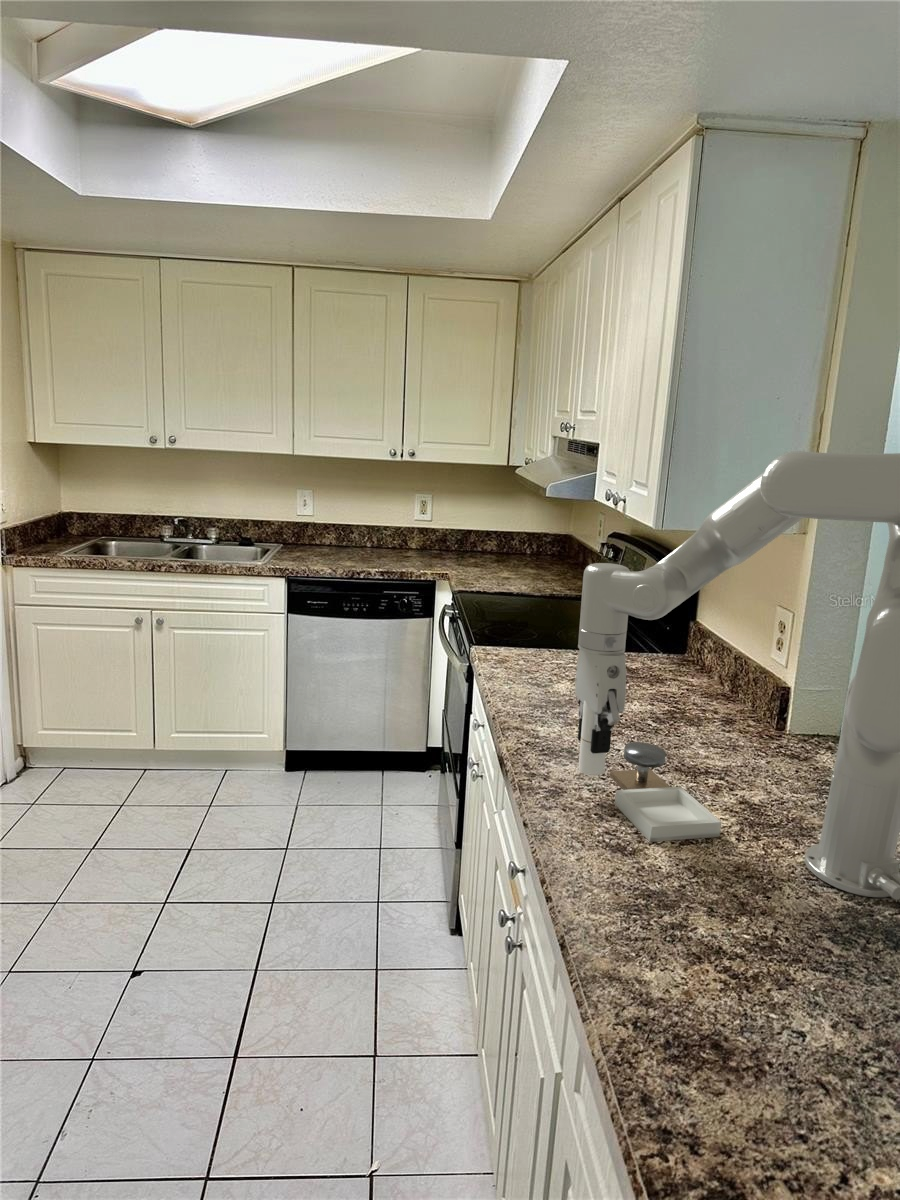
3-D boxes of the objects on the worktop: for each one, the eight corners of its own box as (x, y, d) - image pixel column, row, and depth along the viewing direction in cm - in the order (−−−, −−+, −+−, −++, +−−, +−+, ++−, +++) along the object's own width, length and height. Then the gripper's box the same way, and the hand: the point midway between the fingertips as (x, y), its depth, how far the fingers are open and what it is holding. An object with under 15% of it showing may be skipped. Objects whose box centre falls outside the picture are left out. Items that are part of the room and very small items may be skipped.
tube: (585, 776, 127) (592, 689, 124) (574, 765, 131) (580, 680, 128) (608, 774, 128) (616, 687, 125) (597, 763, 132) (604, 679, 129)
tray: (719, 836, 120) (721, 822, 119) (649, 841, 117) (651, 826, 116) (678, 800, 131) (680, 786, 131) (614, 804, 128) (616, 790, 128)
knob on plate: (672, 794, 133) (677, 759, 132) (630, 797, 131) (635, 761, 130) (649, 774, 141) (654, 740, 139) (609, 776, 139) (614, 741, 137)
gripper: (648, 653, 118) (637, 765, 122) (600, 627, 134) (592, 726, 138) (603, 655, 116) (593, 768, 120) (560, 628, 132) (553, 729, 136)
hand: (593, 745), depth 129 cm, fingers closed on tube, 4 cm apart
